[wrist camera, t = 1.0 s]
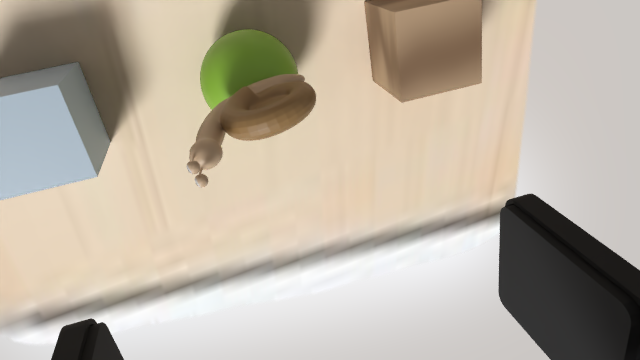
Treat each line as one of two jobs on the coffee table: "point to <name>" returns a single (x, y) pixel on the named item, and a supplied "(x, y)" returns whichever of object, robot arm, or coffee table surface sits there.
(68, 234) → the coffee table surface
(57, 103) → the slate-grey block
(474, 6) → the walnut block
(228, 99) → the snail figurine
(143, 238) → the coffee table surface
